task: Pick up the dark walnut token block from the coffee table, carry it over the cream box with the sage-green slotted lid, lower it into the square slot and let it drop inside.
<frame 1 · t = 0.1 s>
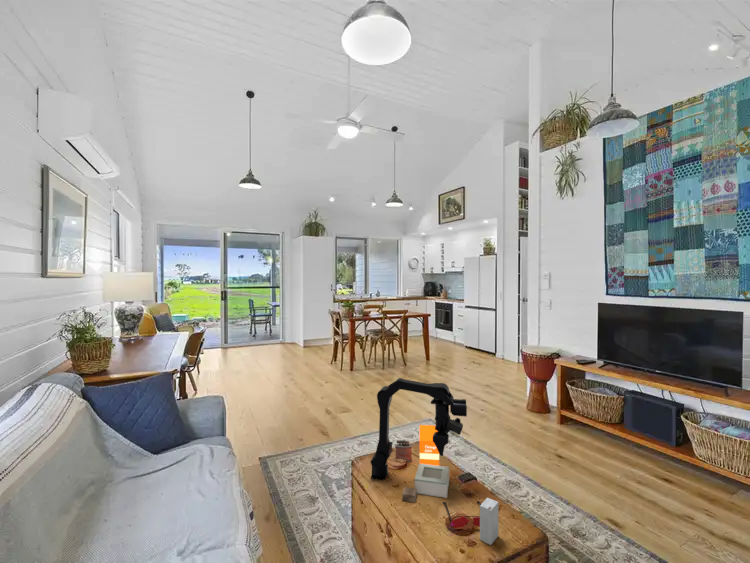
hand: (442, 450, 158), 15 cm above the table, tool pointing down, fingers open, 9 cm apart
skincare box: (489, 539, 125), on the table
token: (409, 498, 149), on the table
ornate red flask: (403, 460, 179), on the table
orange juice: (429, 468, 171), on the table
slot box: (432, 486, 156), on the table
glasses: (465, 517, 137), on the table
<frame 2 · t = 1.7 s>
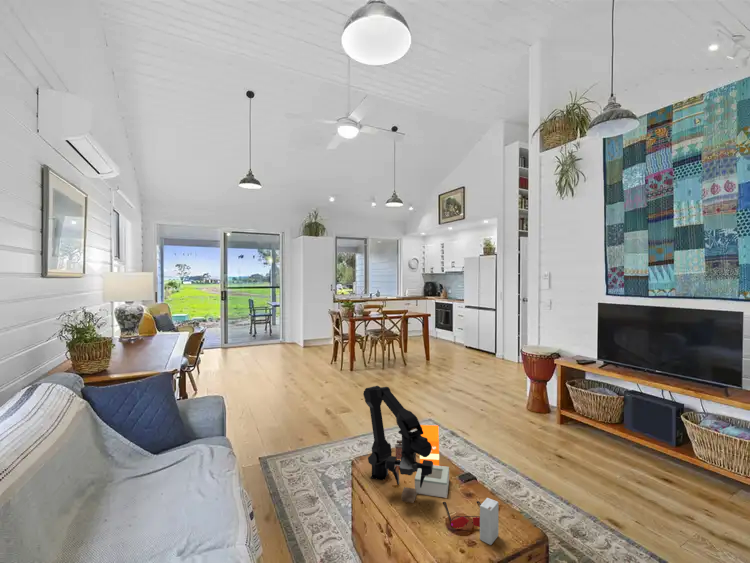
hand: (409, 485, 149), 5 cm above the table, tool pointing down, fingers open, 9 cm apart
nothing on the table moved.
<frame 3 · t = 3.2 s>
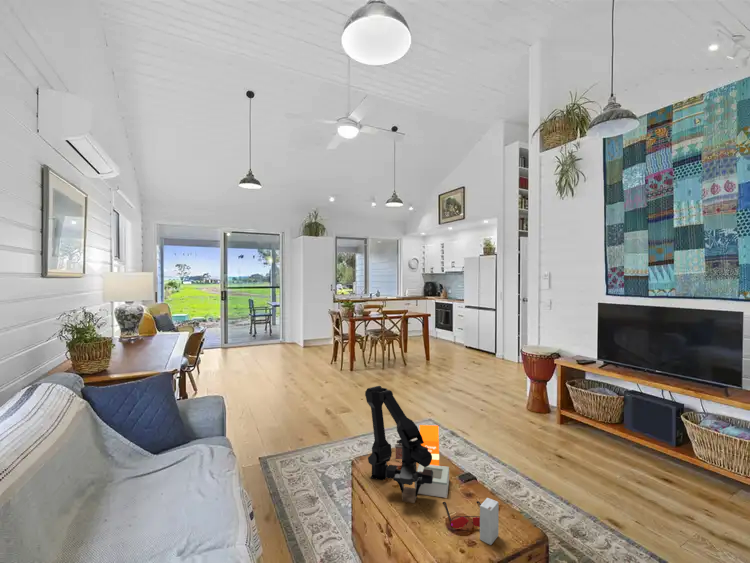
hand: (409, 494, 149), 1 cm above the table, tool pointing down, fingers closed on token, 5 cm apart
token: (409, 498, 148), on the table, touching gripper
everything else where it was.
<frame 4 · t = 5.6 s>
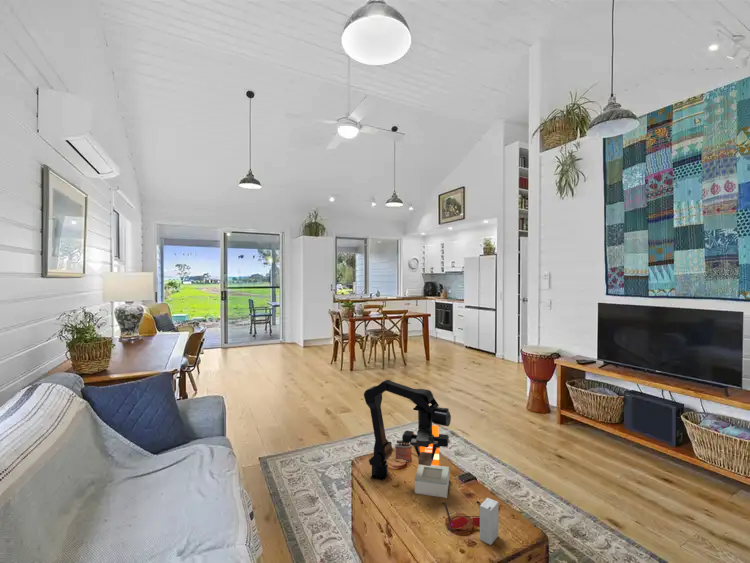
hand: (425, 458, 153), 13 cm above the table, tool pointing down, fingers closed on token, 5 cm apart
token: (425, 462, 153), point 12 cm above the table, touching gripper
everything else where it was.
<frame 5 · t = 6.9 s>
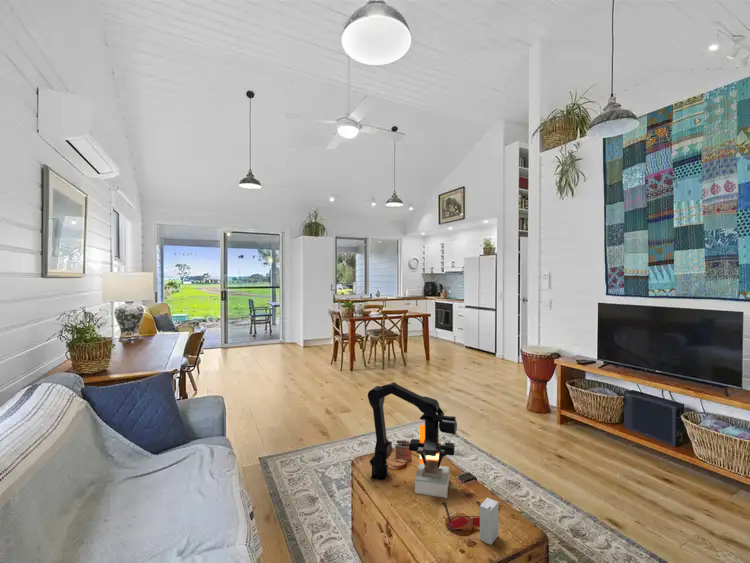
hand: (432, 466, 156), 8 cm above the table, tool pointing down, fingers closed on token, 5 cm apart
token: (431, 470, 156), point 7 cm above the table, touching gripper
everything else where it was.
when the fingers open (7 cm above the table, at t = 8.1 s): token drops 5 cm, resting on slot box.
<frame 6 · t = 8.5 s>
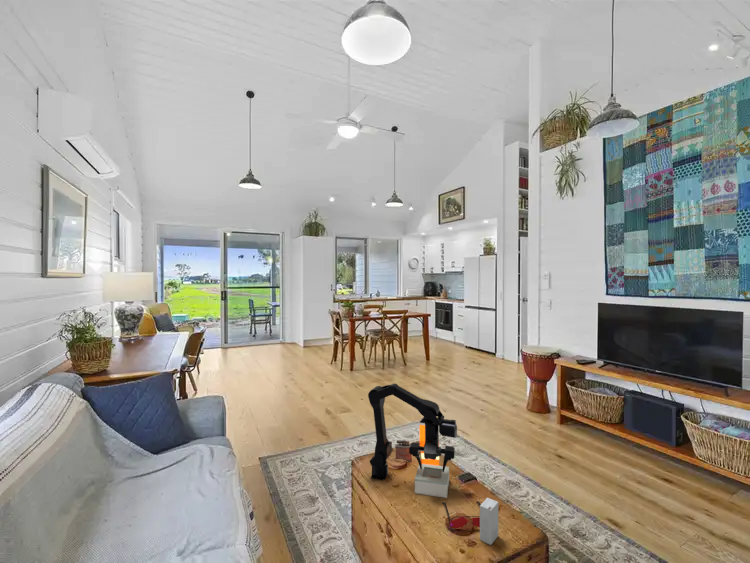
hand: (432, 470, 156), 7 cm above the table, tool pointing down, fingers open, 9 cm apart
token: (432, 486, 156), resting on slot box
everything else where it was.
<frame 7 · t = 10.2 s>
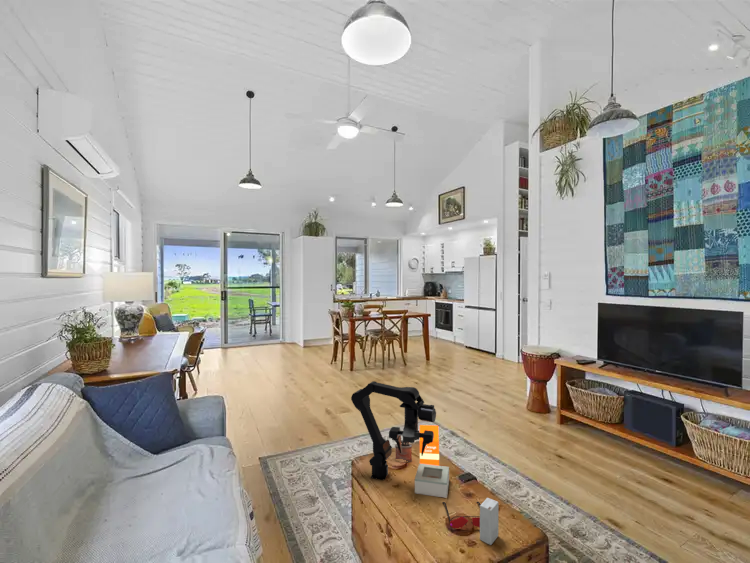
hand: (411, 454, 158), 13 cm above the table, tool pointing down, fingers open, 9 cm apart
nothing on the table moved.
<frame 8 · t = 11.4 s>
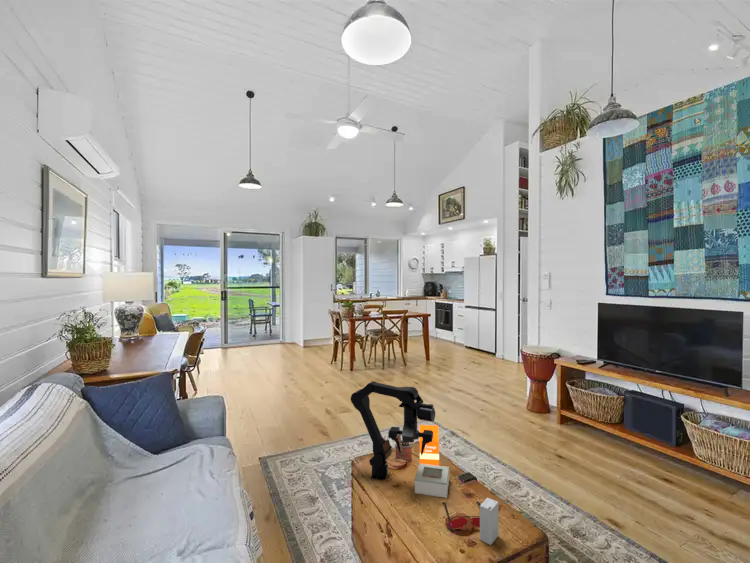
hand: (411, 453, 158), 13 cm above the table, tool pointing down, fingers open, 9 cm apart
nothing on the table moved.
at the end: token inside the target area on the slot box (0.3 cm from its centre), point 0.5 cm above the slot box's base; the gripper is holding nothing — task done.
